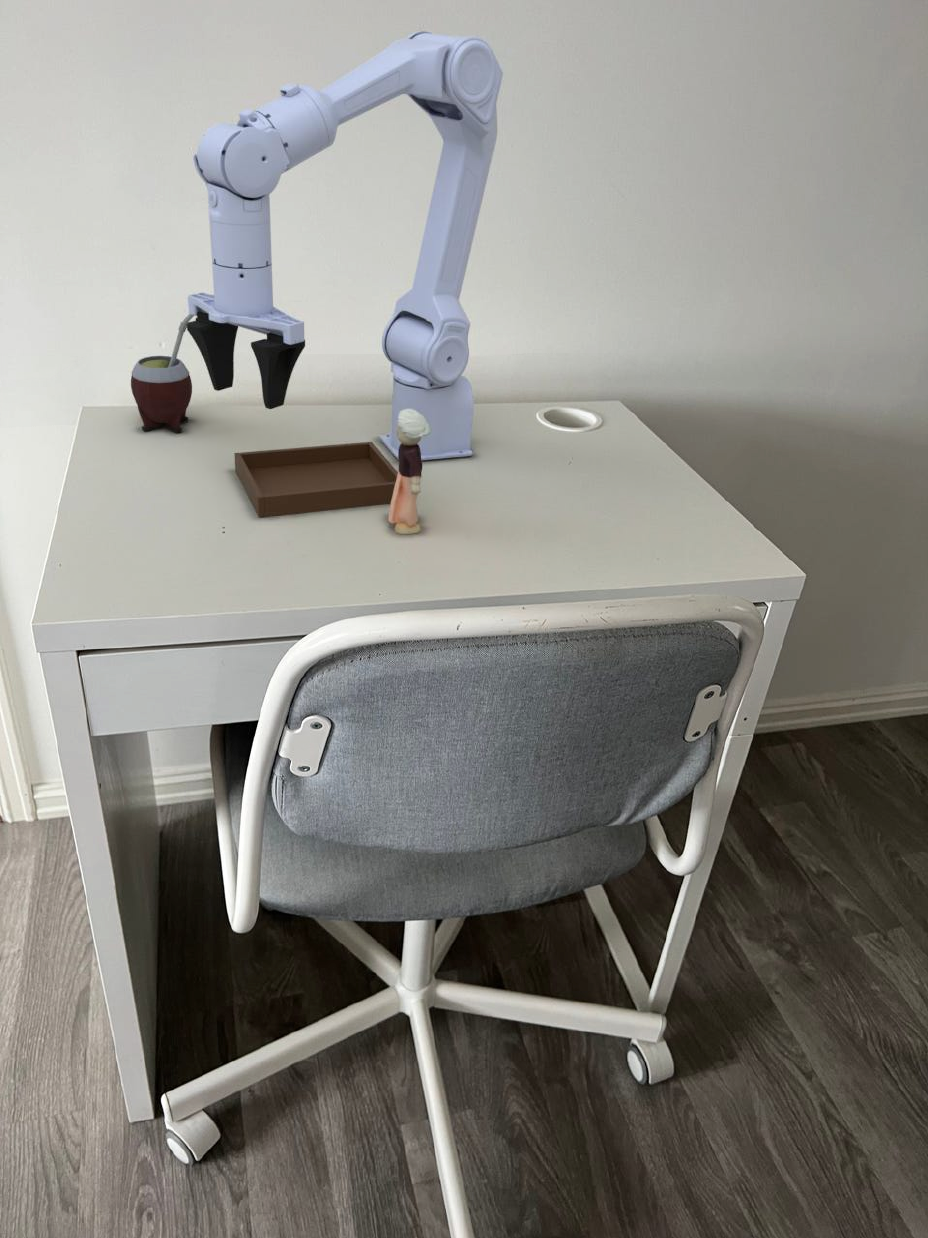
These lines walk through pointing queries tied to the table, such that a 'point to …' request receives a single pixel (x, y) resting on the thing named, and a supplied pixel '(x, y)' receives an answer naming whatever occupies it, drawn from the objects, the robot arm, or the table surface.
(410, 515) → the grandmother figurine
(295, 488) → the tray
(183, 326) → the mate gourd
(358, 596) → the table surface
